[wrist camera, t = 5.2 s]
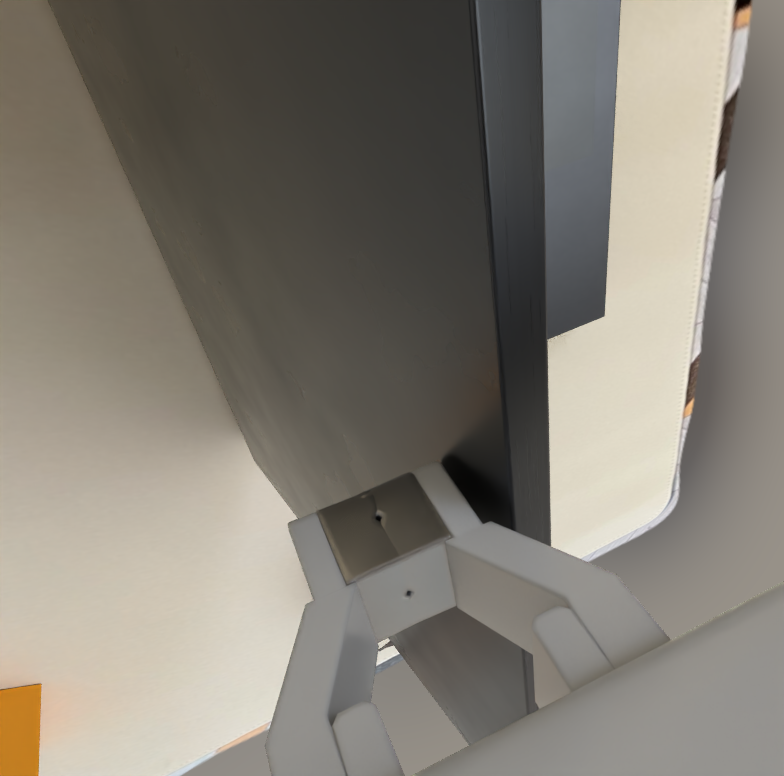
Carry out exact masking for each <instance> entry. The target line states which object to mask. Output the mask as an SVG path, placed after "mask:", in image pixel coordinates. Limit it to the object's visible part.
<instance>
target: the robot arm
mask: <svg viewBox="0 0 784 776" xmlns="http://www.w3.org/2000/svg"><path fill="white" fill-rule="evenodd" d="M316 513H317V514H316ZM288 528H289V532H290V535H291V538H292V541H293V543H294V546H295V549H296V552H297V555H298V557H299V560H300V563H301V566H302V569H303V572H304V574H305V577H306V580H307V583H308V586H309V588H310V591H311V594H312V597H313V600H314V601H312V602H310V603H308V604H306V605H305V608H304V612H303V615H302V619H301V622H300V626H299V629H298V633H297V636H296V639H295V643H294V646H293V650H292V653H291V657H290V660H289V664H288V667H287V671H286V674H285V677H284V681H283V684H282V688H281V691H280V695H279V698H278V702H277V705H276V709H275V712H274V715H273V719H272V722H271V726H270V729H269V733H268V736H267V740H266V743H265V749H266V754H267V758H268V762H269V767H270V771H271V776H404V773H403V770H402V768H401V765H400V763H399V760H398V758H397V756H396V753H395V750H394V748H393V745H392V744H391V740H390V738H389V735H388V733H387V731H386V728H385V726H384V723H383V721H382V719H381V716H380V713H379V711H378V708H377V706H376V704H374V703H371V698H372V690H373V683H374V676H375V669H376V661H377V654H378V647H379V646H378V643H379V642H381V641H383V640H385V639H386V638H388V637H390V636H392V635H394V634H396V633H398V632H400V631H402V630H404V629H406V628H408V627H410V626H412V625H414V624H416V623H418V622H421V621H423V620H425V619H427V618H430V617H432V616H434V615H436V614H439V613H441V612H443V611H445V610H448V609H450V608H452V607H454V606H457V608H459V609H460V610H462V611H463V612H465V613H467V614H468V615H470V616H471V617H473V618H475V619H476V620H478V621H479V622H481V623H483V624H484V625H486V626H487V627H489V628H491V629H492V630H494V631H495V632H497V633H499V634H500V635H502V636H503V637H505V638H507V639H508V640H510V641H512V642H513V643H515V644H516V645H518V646H520V647H521V648H523V649H524V650H526V651H528V652H529V653H531V654H532V655H533V667H534V689H535V702H536V704H537V705H538V707H539V709H538V710H536V711H534V712H533V713H531V714H529V715H527V716H525V717H523V718H521V719H519V720H517V721H515V722H513V723H511V724H510V725H508V726H506V727H504V728H502V729H500V730H498V731H496V732H494V733H492V734H490V735H488V736H487V737H485V738H483V739H481V740H479V741H477V742H475V743H473V744H471V745H469V746H467V747H465V748H464V749H462V750H460V751H458V752H456V753H454V754H452V755H450V756H448V757H446V758H445V759H442V760H441V761H439V762H437V763H435V764H433V765H431V766H429V767H427V768H425V769H423V770H421V771H420V772H418V773H416V774H414V775H412V776H784V581H783V582H781V583H780V584H778V585H776V586H774V587H772V588H770V589H768V590H766V591H764V592H762V593H760V594H759V595H757V596H755V597H753V598H751V599H749V600H747V601H745V602H743V603H741V604H739V605H737V606H736V607H734V608H732V609H730V610H728V611H726V612H724V613H722V614H720V615H718V616H716V617H715V618H713V619H711V620H709V621H707V622H705V623H703V624H701V625H699V626H697V627H696V628H693V629H692V630H690V631H688V632H686V633H684V634H682V635H680V636H678V637H676V638H674V639H673V640H670V638H669V637H668V636H667V635H666V634H665V632H664V631H663V630H662V629H661V627H660V626H659V625H658V624H657V623H656V621H655V620H654V619H653V618H652V617H651V616H650V614H649V613H648V612H647V611H646V610H645V608H644V607H643V606H642V605H641V604H640V602H639V601H638V600H637V598H636V597H635V596H634V595H633V594H632V592H631V591H630V590H629V589H628V588H627V586H626V585H625V584H624V583H623V582H622V580H621V579H620V578H619V577H618V576H617V574H614V573H612V572H609V571H607V570H605V569H602V568H600V567H598V566H595V565H593V564H591V563H588V562H586V561H584V560H581V559H579V558H576V557H574V556H572V555H569V554H567V553H565V552H562V551H560V550H558V549H555V548H553V547H551V546H548V545H546V544H543V543H541V542H539V541H536V540H534V539H532V538H529V537H527V536H525V535H522V534H520V533H518V532H515V531H513V530H510V529H508V528H506V527H503V526H501V525H499V524H496V523H494V522H492V521H490V522H487V523H485V524H482V522H481V521H480V519H479V518H478V516H477V515H476V513H475V512H474V511H473V509H472V508H471V506H470V505H469V503H468V502H467V500H466V499H465V497H464V496H463V494H462V493H461V491H460V490H459V489H458V487H457V486H456V484H455V483H454V481H453V480H452V478H451V477H450V475H449V474H448V472H447V471H446V470H445V468H444V467H443V465H442V464H441V463H440V462H438V461H437V460H436V461H434V462H432V463H429V464H427V465H425V466H422V467H420V468H417V469H415V470H413V471H411V473H410V472H407V473H405V474H403V475H401V476H398V477H396V478H394V479H391V480H389V481H387V482H385V483H382V484H380V485H378V486H375V487H373V488H371V489H369V490H366V491H364V492H362V493H359V494H358V495H356V496H353V497H351V498H348V499H346V500H343V501H341V502H338V503H336V504H333V505H331V506H328V507H325V508H323V509H320V510H318V511H316V512H314V513H311V514H309V515H306V516H304V517H301V518H299V519H296V520H294V521H291V522H289V523H288Z"/></svg>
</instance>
